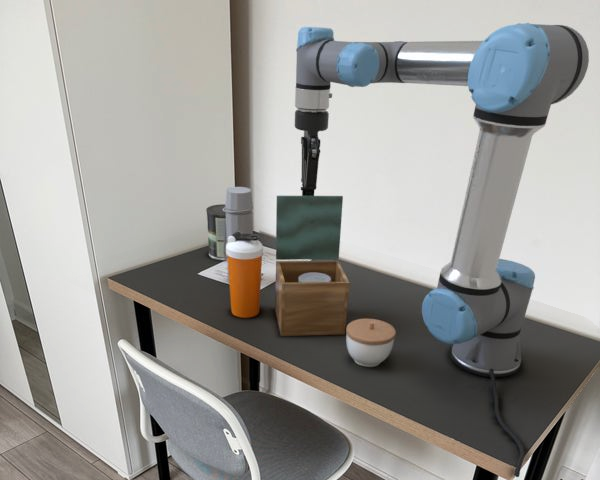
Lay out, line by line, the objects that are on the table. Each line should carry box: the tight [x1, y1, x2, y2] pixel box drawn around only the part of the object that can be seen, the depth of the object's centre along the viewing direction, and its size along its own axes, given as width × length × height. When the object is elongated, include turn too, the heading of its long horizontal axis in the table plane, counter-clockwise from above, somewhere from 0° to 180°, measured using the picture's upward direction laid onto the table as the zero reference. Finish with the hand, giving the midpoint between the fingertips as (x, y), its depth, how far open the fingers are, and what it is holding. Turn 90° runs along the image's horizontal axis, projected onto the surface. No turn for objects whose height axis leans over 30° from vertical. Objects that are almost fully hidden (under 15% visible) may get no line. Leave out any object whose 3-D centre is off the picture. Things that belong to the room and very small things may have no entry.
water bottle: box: [223, 186, 254, 281], centre depth 160 cm, size 9×8×25 cm
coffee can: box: [205, 203, 227, 261], centre depth 179 cm, size 10×10×14 cm
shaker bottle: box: [226, 231, 264, 319], centre depth 144 cm, size 9×9×20 cm
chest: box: [274, 260, 351, 337], centre depth 143 cm, size 14×16×13 cm
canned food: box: [298, 272, 331, 282], centre depth 143 cm, size 8×8×11 cm
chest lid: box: [275, 195, 344, 261], centre depth 141 cm, size 15×16×1 cm
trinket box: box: [345, 318, 397, 368], centre depth 129 cm, size 11×11×9 cm
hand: (307, 216), depth 143 cm, fingers closed
